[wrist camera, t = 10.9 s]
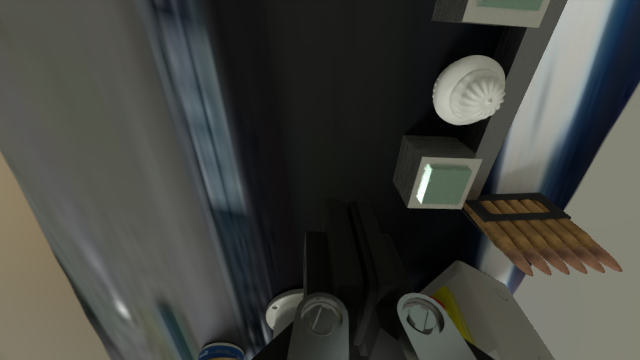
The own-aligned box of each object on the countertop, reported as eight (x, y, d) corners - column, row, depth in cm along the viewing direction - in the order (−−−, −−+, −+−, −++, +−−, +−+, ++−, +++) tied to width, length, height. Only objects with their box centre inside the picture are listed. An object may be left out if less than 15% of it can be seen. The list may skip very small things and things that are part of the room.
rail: (464, 186, 34) (492, 216, 29) (391, 184, 33) (408, 215, 28) (566, -64, 22) (649, -90, 16) (454, -77, 21) (505, -107, 16)
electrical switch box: (426, 235, 41) (488, 381, 24) (499, 275, 44) (605, 434, 26) (371, 290, 48) (387, 438, 30) (438, 323, 50) (489, 476, 32)
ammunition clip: (540, 192, 35) (637, 264, 25) (534, 203, 36) (625, 277, 26) (461, 195, 35) (526, 269, 25) (457, 206, 36) (518, 282, 26)
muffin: (431, 123, 30) (463, 151, 24) (411, 73, 27) (442, 90, 21) (487, 93, 28) (537, 114, 22) (472, 36, 25) (525, 43, 19)
